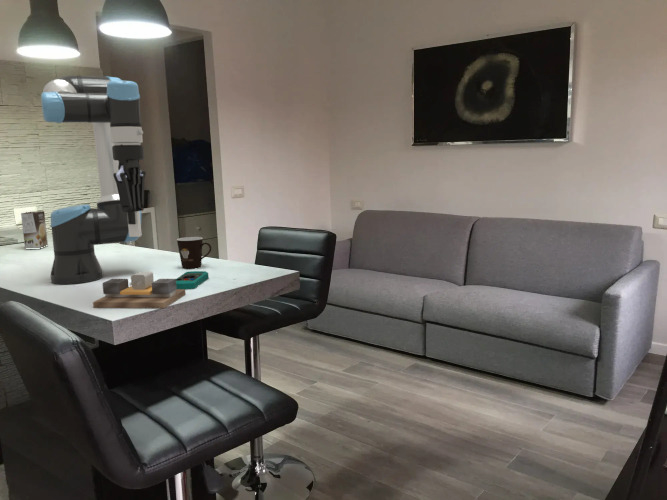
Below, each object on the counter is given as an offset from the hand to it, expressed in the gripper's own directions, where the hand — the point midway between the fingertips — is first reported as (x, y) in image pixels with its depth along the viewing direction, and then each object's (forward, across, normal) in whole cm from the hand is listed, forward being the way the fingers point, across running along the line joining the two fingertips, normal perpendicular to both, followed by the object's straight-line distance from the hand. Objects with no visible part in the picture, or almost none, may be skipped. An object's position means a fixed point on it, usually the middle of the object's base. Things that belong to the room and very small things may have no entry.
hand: (135, 236), depth 144 cm
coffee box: (+19, +88, +91) cm, 128 cm away
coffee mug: (+18, +44, +2) cm, 47 cm away
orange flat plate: (+15, 0, 0) cm, 15 cm away
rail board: (+17, 0, 0) cm, 17 cm away
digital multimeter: (+18, +20, -6) cm, 28 cm away
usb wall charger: (+14, 0, 0) cm, 14 cm away
